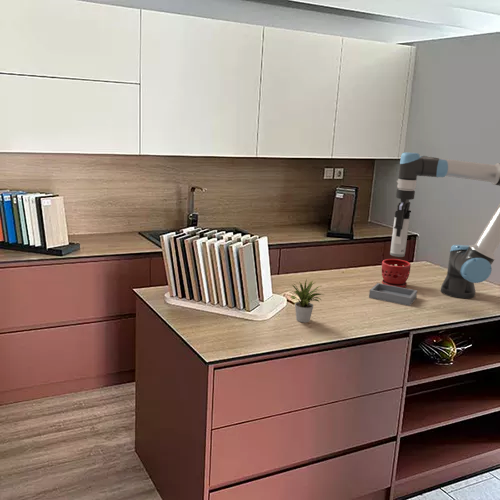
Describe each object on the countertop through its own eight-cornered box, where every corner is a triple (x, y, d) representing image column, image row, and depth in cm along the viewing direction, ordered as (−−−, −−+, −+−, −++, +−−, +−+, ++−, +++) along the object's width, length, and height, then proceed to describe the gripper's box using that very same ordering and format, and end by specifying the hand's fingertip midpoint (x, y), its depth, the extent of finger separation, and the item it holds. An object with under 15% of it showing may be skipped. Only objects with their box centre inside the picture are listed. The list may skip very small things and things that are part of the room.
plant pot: (379, 280, 275) (382, 257, 272) (406, 284, 272) (410, 260, 270) (379, 288, 263) (382, 263, 260) (408, 291, 260) (411, 267, 257)
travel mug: (405, 257, 242) (411, 211, 237) (390, 256, 243) (395, 210, 238) (405, 254, 248) (410, 209, 243) (389, 252, 249) (395, 208, 244)
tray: (416, 297, 252) (417, 290, 251) (409, 305, 241) (410, 298, 240) (376, 290, 260) (377, 283, 259) (368, 297, 248) (369, 290, 248)
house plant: (292, 329, 207) (296, 287, 203) (276, 316, 219) (279, 276, 215) (326, 325, 213) (330, 284, 209) (308, 312, 225) (311, 273, 221)
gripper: (402, 186, 248) (396, 237, 254) (391, 190, 232) (385, 244, 237) (419, 188, 245) (412, 239, 251) (410, 192, 228) (403, 247, 234)
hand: (399, 242), depth 244 cm, fingers closed on travel mug, 6 cm apart
